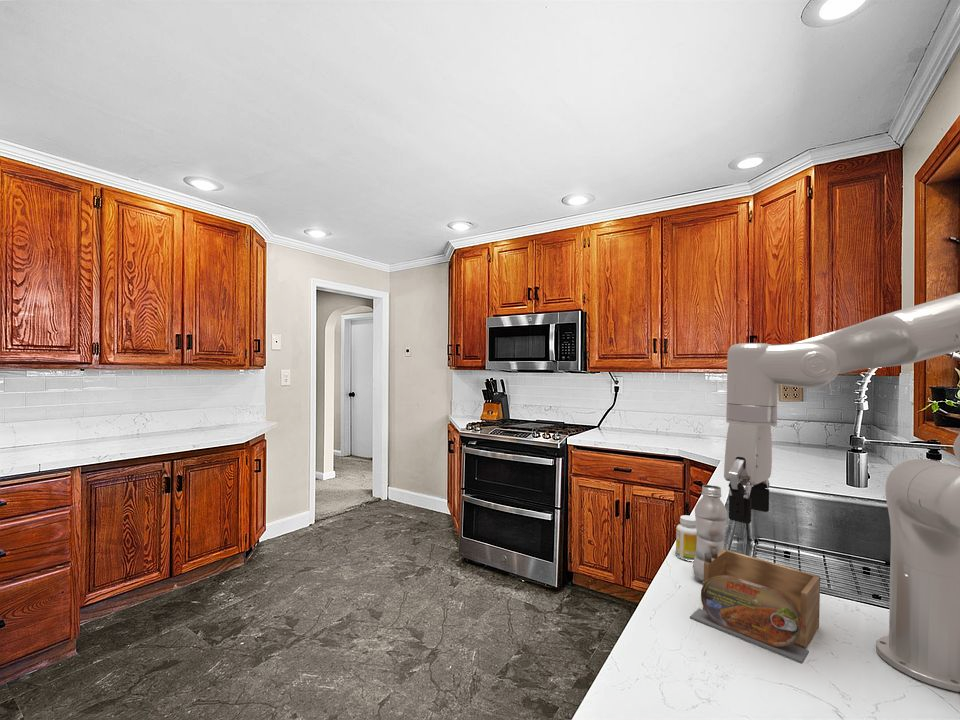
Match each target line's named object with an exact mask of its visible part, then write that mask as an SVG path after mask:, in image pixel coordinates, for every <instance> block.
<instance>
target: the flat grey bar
mask: <svg viewBox="0 0 960 720" xmlns="http://www.w3.org/2000/svg"><path fill="white" fill-rule="evenodd" d="M689 619H691V620H693V621H696V622H698V623H700V624H703V625H706V626H708V627H710V628H713V629H715V630H717V631H721V632H723V633H725V634H727V635H730V636H733V637H735V638H738V639H739V640H742V641H745V642H747V643H750V644H752V645H755V646H758V647H760V648H762V649H764V650H767V651H769V652H771V653H775V654H777V655H779V656H782V657H784V658H787V659H789V660H791V661H794V662H796V663H799V664H803V663H804V661H805V660H806V658H807V656H808V655H809V652H810V651H809V650H808V649H804V648H801V647H798V646H796V645H793V644H791V645H789V646H785V647H776V646H772V645H769V644H766V643H764V642H761V641H759V640H756V639H753V638H751V637H748V636H746V635H743V634H741V633H738V632H735V631H733V630H730V629H727V628H725V627H722V626H720V625H719V624H717V623H716V622H715V621H714V620H712V619H711V618H710V616H709V615H708V614H707V612H706V611H705V610H703V608H698V609H697V610H695V612H693V613H692V614H691V615H689Z"/></svg>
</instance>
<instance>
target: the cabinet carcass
mask: <svg viewBox="0 0 960 720" xmlns="http://www.w3.org/2000/svg"><path fill="white" fill-rule="evenodd" d="M704 561H705V562H704V582H703V585H704V583H705V582H706V581H707V580H709V579H710V578H713V577H716V576H719V575H728V576H732V577H735V578H738V579H742V580H745V581H748V582H751V583H755V584H758V585H761V586H764V587H768V588H771V589H774V590H777V591H779V592H781V593H783V594H785V595H786V596H787V597H789V598H790V599H791V600H792V601H793V602H794V604H795V605H796V606H797V608H798V610H799V612H800V614H801V617H802V630H801V633H800V635H799V637H798V638H797V640H796V641H795V642H794V643H793V645H796V646H798V647H801V648H804V649H806V650H808V649H807V648H808V647H809V645H810V643H811V642H812V640H813V638H814V637H815V636H816V634H817V632H818V631H819V628H820V605H821V603H820V602H821V576H820V575H817V574H813V573H809V572H806V571H802V570H799V569H795V568H792V567H790V566H789V567H788V566H785V565H781V564H778V563H775V562H771V561H767V560H764V559H761V558H757V557H753V556H750V555H746V554H743V553H739V552H735V551H732V550H730V549H725V548H724V549H722V550H721V551H719V552H718V550H716V549H711V554H710V553H705V556H704ZM703 585H702V586H703ZM702 610H705V609H704V607H703V606H702Z"/></svg>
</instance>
